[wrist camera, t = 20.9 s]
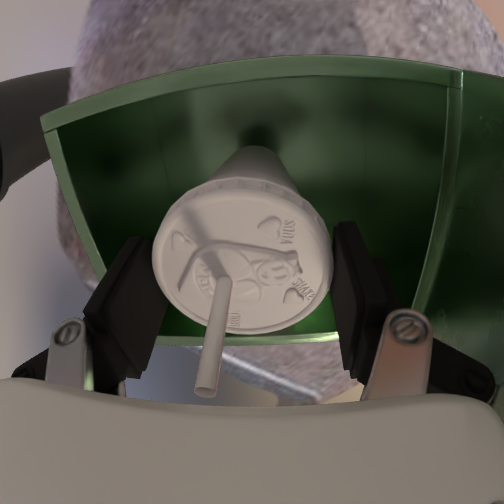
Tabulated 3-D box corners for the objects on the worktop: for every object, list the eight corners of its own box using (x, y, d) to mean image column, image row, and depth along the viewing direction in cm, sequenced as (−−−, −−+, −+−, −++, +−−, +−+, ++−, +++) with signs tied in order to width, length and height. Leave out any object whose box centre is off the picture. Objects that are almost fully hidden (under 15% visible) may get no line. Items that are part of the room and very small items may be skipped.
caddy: (177, 238, 26) (132, 343, 17) (141, 84, 19) (38, 116, 9) (368, 225, 25) (415, 331, 15) (370, 61, 17) (463, 69, 7)
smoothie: (187, 142, 17) (49, 317, 6) (291, 110, 16) (350, 256, 4) (224, 230, 21) (177, 435, 9) (317, 206, 19) (364, 420, 8)
